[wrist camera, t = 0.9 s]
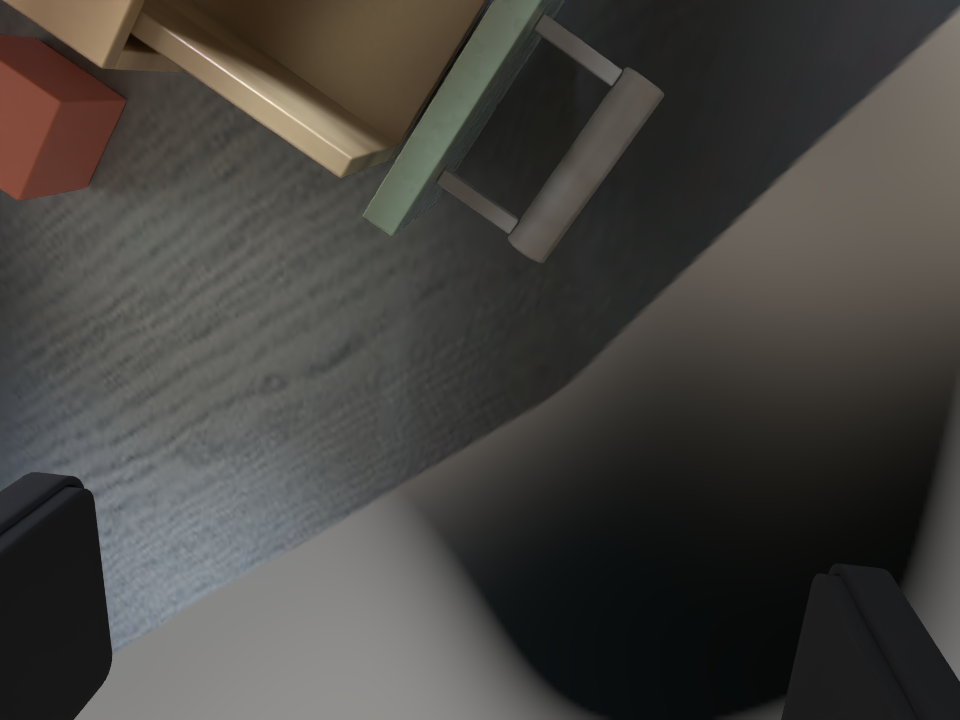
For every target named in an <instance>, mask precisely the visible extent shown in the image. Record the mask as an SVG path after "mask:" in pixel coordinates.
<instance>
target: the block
mask: <svg viewBox="0 0 960 720" xmlns="http://www.w3.org/2000/svg"><path fill="white" fill-rule="evenodd" d="M125 103H126V99H125V98H123V97H122V96H120V95H119V94H117V93H116V92H114V91H113V90H111V89H110V88H108V87H107V86H106V85H104V84H103V83H101V82H100V81H98V80H97V79H95V78H94V77H92V76H91V75H89V74H88V73H87V72H85V71H84V70H82V69H81V68H79V67H78V66H76V65H75V64H73V63H72V62H70V61H69V60H68V59H66V58H65V57H63V56H62V55H60V54H59V53H57V52H56V51H54V50H53V49H51V48H50V47H49V46H47V45H46V44H44V43H43V42H41V41H40V40H38V39H37V38H31V37H21V36H10V35H0V189H1V190H3V191H4V192H6V193H7V194H9V195H10V196H12V197H13V198H15V199H16V200H18V201H22V200H27V199H32V198H37V197H42V196H47V195H53V194H58V193H63V192H68V191H73V190H78V189H83V188H86V187H87V186H88V184H89V182H90V179H91V177H92V175H93V173H94V171H95V169H96V166H97V164H98V162H99V160H100V158H101V156H102V153H103V151H104V149H105V147H106V145H107V143H108V140H109V138H110V136H111V134H112V132H113V129H114V127H115V125H116V123H117V121H118V119H119V116H120V114H121V112H122V110H123V108H124V106H125Z"/></svg>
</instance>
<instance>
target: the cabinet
mask: <svg viewBox="0 0 960 720" xmlns="http://www.w3.org/2000/svg"><path fill="white" fill-rule="evenodd" d="M2 1H4V2H5V3H7V4H8V5H10V6H11V7H13V8H14V9H16V10H17V11H18V12H20V13H21V14H23V15H24V16H26V17H27V18H29V19H30V20H32V21H33V22H34V23H36V24H37V25H39V26H40V27H42V28H43V29H45V30H46V31H48V32H49V33H51V34H52V35H53V36H55V37H56V38H58V39H59V40H61V41H62V42H64V43H65V44H67V45H68V46H69V47H71V48H72V49H74V50H75V51H77V52H78V53H80V54H81V55H83V56H84V57H86V58H87V59H88V60H90V61H91V62H93V63H94V64H96V65H97V66H99V67H100V68H102V69H116V70H140V71H164V72H186V71H185V70H183V69H182V68H180V67H179V66H177V65H176V64H174V63H173V62H172V61H170V60H169V59H167V58H166V57H164V56H163V55H161V54H160V53H159V52H157V51H156V50H154V49H153V48H151V47H150V46H148V45H147V44H146V43H144V42H143V41H141V40H140V39H138V38H137V37H135V36H134V35H133V34H131V33H130V32H131V30H132V28H133V25H134V23H135V21H136V19H137V17H138V14H139V12H140V10H141V8H142V5H143V3H144V1H145V0H2Z"/></svg>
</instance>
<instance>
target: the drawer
mask: <svg viewBox="0 0 960 720" xmlns="http://www.w3.org/2000/svg"><path fill="white" fill-rule="evenodd" d="M565 1H566V0H493V2H492V3H491V5H490V7H489V8H488V10H487V12H486V13H485V15H484V17H483V18H482V20H481V21H480V23H479V25H478V26H477V28H476V30H475V31H474V33H473V35H472V36H471V38H470V40H469V41H468V43H467V44H466V46H465V48H464V49H463V51H462V53H461V54H460V56H459V58H458V59H457V61H456V62H455V64H454V66H453V67H452V69H451V71H450V72H449V74H448V76H447V77H446V79H445V81H444V82H443V84H442V85H441V87H440V89H439V90H438V92H437V94H436V95H435V97H434V99H433V100H432V102H431V103H430V105H429V107H428V108H427V110H426V112H425V113H424V115H423V117H422V118H421V120H420V122H419V123H418V125H417V126H416V128H415V130H414V131H413V133H412V135H411V136H410V138H409V140H408V141H407V143H406V144H405V146H404V148H403V149H402V151H401V153H400V154H399V156H398V158H397V159H396V161H395V163H394V164H393V166H392V167H391V169H390V171H389V172H388V174H387V176H386V177H385V179H384V181H383V182H382V184H381V185H380V187H379V189H378V190H377V192H376V194H375V195H374V197H373V199H372V200H371V202H370V204H369V205H368V207H367V208H366V210H365V212H364V213H363V218H365V219H366V220H368V221H369V222H371V223H372V224H374V225H375V226H376V227H378V228H379V229H381V230H382V231H384V232H385V233H387V234H388V235H389V236H393V235H395V234H396V233H397V232H399V231H400V230H401V229H403V228H404V227H405V226H406V225H408V224H409V223H410V222H412V221H413V220H414V219H416V218H417V217H418V216H420V215H421V214H422V213H424V212H425V211H426V210H428V209H429V208H430V207H431V206H433V205H434V204H435V203H436V201H437V200H438V198H439V196H440V195H441V193H442V192H443V190H444V189H445V190H446V191H448V192H449V193H451V194H452V195H454V196H455V197H456V198H458V199H459V200H461V201H462V202H464V203H465V204H466V205H468V206H469V207H471V208H472V209H474V210H475V211H476V212H478V213H479V214H481V215H482V216H484V217H485V218H486V219H488V220H489V221H491V222H492V223H494V224H495V225H496V226H498V227H499V228H501V229H502V230H504V231H505V232H506V233H508V234H510V235H509V236H508V240H509V241H510V243H511V244H512V245H513V246H514V247H515V248H516V249H517V250H518V251H520V252H521V253H522V254H524V255H525V256H527V257H528V258H530V259H532V260H533V261H536V262H538V263H544V262H545V261H546V259H547V258H548V256H549V255H550V254H551V252H552V251H553V249H554V248H555V247H556V245H557V244H558V243H559V241H560V240H561V238H562V237H563V236H564V234H565V233H566V231H567V230H568V229H569V227H570V226H571V225H572V223H573V222H574V220H575V219H576V218H577V216H578V215H579V213H580V212H581V211H582V209H583V208H584V207H585V205H586V204H587V202H588V201H589V200H590V198H591V197H592V195H593V194H594V193H595V191H596V190H597V189H598V187H599V186H600V184H601V183H602V182H603V180H604V179H605V177H606V176H607V175H608V173H609V172H610V171H611V169H612V168H613V166H614V165H615V164H616V162H617V161H618V159H619V158H620V157H621V155H622V154H623V153H624V151H625V150H626V148H627V147H628V146H629V144H630V143H631V141H632V140H633V139H634V137H635V136H636V135H637V133H638V132H639V130H640V129H641V128H642V126H643V125H644V123H645V122H646V121H647V119H648V118H649V117H650V115H651V114H652V112H653V111H654V110H655V108H656V107H657V105H658V104H659V103H660V101H661V100H662V99H663V97H664V93H663V91H662V90H660V89H659V88H658V87H657V86H655V85H654V84H653V83H651V82H650V81H649V80H647V79H646V78H645V77H643V76H642V75H640V74H639V73H638V72H636V71H635V70H633V69H631V68H629V67H626V68H625V69H624V70H623V72H622V70H621V69H620V68H619V67H617V66H616V65H615V64H613V63H612V62H610V61H609V60H608V59H606V58H605V57H604V56H602V55H601V54H599V53H598V52H597V51H595V50H594V49H593V48H591V47H590V46H589V45H587V44H586V43H584V42H583V41H582V40H580V39H579V38H578V37H576V36H575V35H574V34H572V33H571V32H569V31H568V30H567V29H565V28H564V27H563V26H561V25H560V24H558V23H557V22H556V21H554V20H553V19H554V18H555V16H556V15H557V13H558V12H559V10H560V8H561V7H562V5H563V4H564V2H565ZM488 2H489V0H145V1H144V3H143V5H142V8H141V10H140V12H139V14H138V17H137V19H136V21H135V23H134V25H133V28H132V30H131V32H130V33H131V34H133V35H134V36H135V37H137V38H138V39H140V40H141V41H143V42H144V43H146V44H147V45H148V46H150V47H151V48H153V49H154V50H156V51H157V52H159V53H160V54H161V55H163V56H164V57H166V58H167V59H169V60H170V61H172V62H173V63H174V64H176V65H177V66H179V67H180V68H182V69H183V70H185V71H186V72H187V73H189V74H190V75H192V76H193V77H195V78H196V79H198V80H199V81H200V82H202V83H203V84H205V85H206V86H208V87H209V88H211V89H212V90H213V91H215V92H216V93H218V94H219V95H221V96H222V97H224V98H225V99H226V100H228V101H229V102H231V103H232V104H234V105H235V106H237V107H238V108H239V109H241V110H242V111H244V112H245V113H247V114H248V115H250V116H251V117H252V118H254V119H255V120H257V121H258V122H260V123H261V124H263V125H264V126H265V127H267V128H268V129H270V130H271V131H273V132H274V133H276V134H277V135H278V136H280V137H281V138H283V139H284V140H286V141H287V142H289V143H290V144H291V145H293V146H294V147H296V148H297V149H299V150H300V151H302V152H303V153H304V154H306V155H307V156H309V157H310V158H312V159H313V160H315V161H316V162H317V163H319V164H320V165H322V166H323V167H325V168H326V169H328V170H329V171H330V172H332V173H333V174H335V175H336V176H338V177H339V178H343V177H346V176H349V175H351V174H354V173H357V172H360V171H362V170H365V169H368V168H371V167H373V166H376V165H379V164H382V163H384V162H387V161H390V160H392V159H393V158H394V157H395V155H396V153H397V152H398V150H399V148H400V147H401V145H402V143H403V142H404V140H405V139H406V137H407V135H408V134H409V132H410V130H411V129H412V127H413V125H414V124H415V122H416V120H417V119H418V117H419V116H420V114H421V112H422V111H423V109H424V107H425V106H426V104H427V102H428V101H429V99H430V97H431V96H432V94H433V92H434V91H435V89H436V88H437V86H438V84H439V83H440V81H441V79H442V78H443V76H444V74H445V73H446V71H447V69H448V68H449V66H450V65H451V63H452V61H453V60H454V58H455V56H456V55H457V53H458V51H459V50H460V48H461V46H462V45H463V43H464V41H465V40H466V38H467V37H468V35H469V33H470V32H471V30H472V28H473V27H474V25H475V23H476V22H477V20H478V18H479V17H480V15H481V14H482V12H483V10H484V9H485V7H486V5H487V4H488ZM542 37H544V38H545V39H546V40H548V41H549V42H551V43H552V44H553V45H555V46H556V47H557V48H559V49H560V50H562V51H563V52H564V53H566V54H567V55H568V56H570V57H571V58H573V59H574V60H575V61H577V62H578V63H579V64H581V65H582V66H584V67H585V68H586V69H588V70H589V71H590V72H592V73H593V74H595V75H596V76H597V77H599V78H600V79H601V80H603V81H604V82H606V83H607V84H608V85H610V86H612V88H611V89H610V90H609V92H608V93H607V95H606V96H605V98H604V99H603V101H602V102H601V103H600V105H599V106H598V108H597V109H596V111H595V112H594V114H593V115H592V116H591V118H590V119H589V121H588V122H587V124H586V125H585V126H584V128H583V129H582V131H581V132H580V134H579V135H578V137H577V138H576V139H575V141H574V142H573V144H572V145H571V147H570V148H569V150H568V151H567V152H566V154H565V155H564V157H563V158H562V160H561V161H560V163H559V164H558V165H557V167H556V168H555V170H554V171H553V173H552V174H551V176H550V177H549V178H548V180H547V181H546V183H545V184H544V186H543V187H542V189H541V190H540V191H539V193H538V194H537V196H536V197H535V199H534V200H533V201H532V203H531V204H530V206H529V207H528V209H527V210H526V212H525V213H524V214H523V216H522V217H521V219H520V220H519V218H518V217H517V216H515V215H514V214H512V213H511V212H510V211H508V210H507V209H505V208H504V207H503V206H501V205H500V204H498V203H497V202H495V201H494V200H493V199H491V198H490V197H488V196H487V195H485V194H484V193H483V192H481V191H480V190H478V189H477V188H475V187H474V186H473V185H471V184H470V183H468V182H467V181H466V180H464V179H463V178H461V177H460V176H458V175H457V174H456V173H455V172H456V170H457V168H458V167H459V165H460V164H461V162H462V161H463V159H464V158H465V156H466V154H467V153H468V151H469V150H470V148H471V147H472V145H473V144H474V142H475V140H476V139H477V137H478V136H479V134H480V133H481V131H482V130H483V128H484V126H485V125H486V123H487V122H488V120H489V119H490V117H491V116H492V114H493V113H494V111H495V109H496V108H497V106H498V105H499V103H500V102H501V100H502V99H503V97H504V95H505V94H506V92H507V91H508V89H509V88H510V86H511V85H512V83H513V81H514V80H515V78H516V77H517V75H518V74H519V72H520V71H521V69H522V67H523V66H524V64H525V63H526V61H527V60H528V58H529V57H530V55H531V53H532V52H533V50H534V49H535V47H536V46H537V44H538V43H539V41H540V39H541V38H542Z"/></svg>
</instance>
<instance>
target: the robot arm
mask: <svg viewBox="0 0 960 720" xmlns="http://www.w3.org/2000/svg"><path fill="white" fill-rule="evenodd" d="M111 662H112V648H111V639H110V630H109V622H108V613H107V605H106V596H105V588H104V579H103V571H102V562H101V554H100V545H99V536H98V528H97V519H96V511H95V502H94V498H93V495H92V493H91V491H89V490H88V489H84V486H83V484H82V482H81V481H80V480H79V479H78V478H76V477H74V476H65V475H56V474H47V473H39V472H31V473H29V474H27V475H25V476H23V477H22V478H20V479H19V480H17V481H16V482H14V483H13V484H11V485H10V486H8V487H7V488H5V489H4V490H2V491H1V492H0V720H74V719H75V717H76V716H77V715H78V714H79V713H80V711H81V710H82V709H83V708H84V706H85V705H86V704H87V702H88V701H89V700H90V699H91V698H92V697H93V695H94V694H95V693H96V692H97V690H98V689H99V688H100V687H101V686H102V684H103V683H104V681H105V680H106V678H107V676H108V673H109V670H110V667H111ZM781 720H960V681H959V680H958V678H957V677H956V675H955V674H954V672H953V671H952V669H951V667H950V666H949V664H948V663H947V662H946V660H945V658H944V657H943V655H942V654H941V652H940V650H939V649H938V647H937V646H936V644H935V643H934V641H933V639H932V638H931V636H930V635H929V633H928V632H927V630H926V629H925V627H924V625H923V624H922V622H921V621H920V619H919V618H918V616H917V615H916V613H915V611H914V610H913V608H912V607H911V605H910V604H909V602H908V601H907V599H906V597H905V596H904V594H903V593H902V591H901V590H900V588H899V586H898V585H897V584H896V582H895V580H894V579H893V577H892V576H891V574H890V573H889V572H888V571H887V570H885V569H880V568H871V567H862V566H854V565H845V564H835V565H833V566H832V568H831V569H830V571H829V573H828V575H827V574H817V575H816V576H815V578H814V580H813V582H812V586H811V590H810V594H809V599H808V603H807V608H806V613H805V617H804V621H803V626H802V630H801V635H800V639H799V644H798V648H797V652H796V657H795V661H794V666H793V670H792V674H791V679H790V683H789V688H788V692H787V697H786V701H785V706H784V710H783V714H782V719H781Z"/></svg>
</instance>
